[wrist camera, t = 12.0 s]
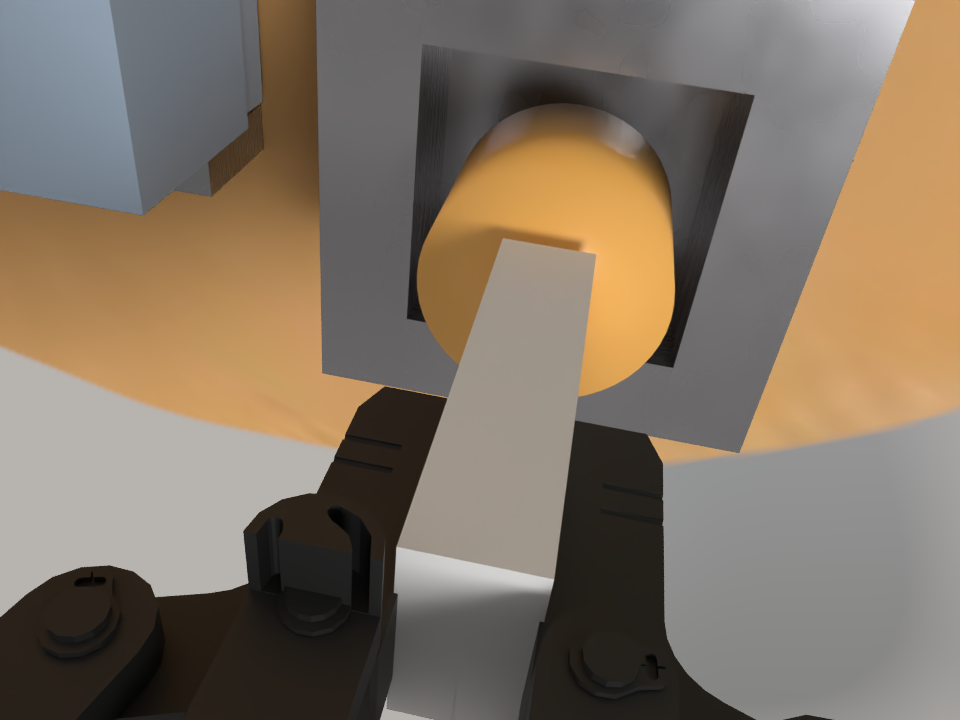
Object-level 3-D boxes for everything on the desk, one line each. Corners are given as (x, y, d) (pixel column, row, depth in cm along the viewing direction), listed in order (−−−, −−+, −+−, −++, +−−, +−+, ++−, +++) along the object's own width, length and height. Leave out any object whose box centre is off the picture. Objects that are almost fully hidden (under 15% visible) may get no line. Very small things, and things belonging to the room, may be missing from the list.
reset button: (466, 86, 16) (424, 152, 13) (697, 123, 15) (705, 199, 12) (449, 283, 18) (410, 374, 15) (645, 318, 18) (642, 418, 15)
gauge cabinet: (418, -142, 22) (280, -101, 14) (818, -88, 21) (919, -11, 13) (402, 200, 28) (298, 368, 20) (714, 253, 27) (739, 453, 19)
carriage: (26, -150, 23) (-239, -124, 16) (267, -117, 22) (97, -74, 15) (68, 69, 26) (-134, 165, 19) (277, 103, 26) (143, 215, 19)
